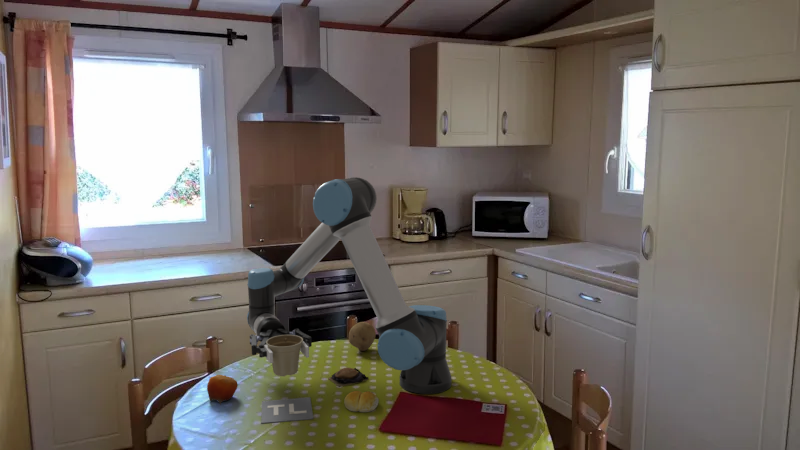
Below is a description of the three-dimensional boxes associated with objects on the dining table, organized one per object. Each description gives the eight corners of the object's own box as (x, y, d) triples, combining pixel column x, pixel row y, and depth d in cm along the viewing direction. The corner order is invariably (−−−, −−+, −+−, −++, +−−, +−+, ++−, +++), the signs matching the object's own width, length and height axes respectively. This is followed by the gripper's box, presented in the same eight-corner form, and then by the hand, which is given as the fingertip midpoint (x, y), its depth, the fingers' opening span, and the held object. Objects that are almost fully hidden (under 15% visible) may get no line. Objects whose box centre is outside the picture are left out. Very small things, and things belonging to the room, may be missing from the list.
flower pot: (300, 379, 155) (299, 346, 154) (263, 379, 156) (262, 346, 154) (306, 365, 165) (305, 334, 164) (271, 365, 165) (270, 334, 164)
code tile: (261, 423, 154) (261, 422, 154) (262, 401, 167) (262, 400, 167) (313, 419, 157) (313, 417, 157) (310, 397, 169) (310, 396, 169)
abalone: (339, 389, 177) (339, 377, 176) (326, 379, 184) (326, 367, 183) (371, 381, 182) (371, 369, 182) (358, 372, 189) (357, 360, 189)
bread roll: (349, 398, 169) (349, 384, 169) (380, 402, 167) (380, 388, 167) (339, 411, 162) (339, 397, 161) (372, 415, 159) (372, 400, 159)
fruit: (196, 400, 164) (204, 370, 167) (212, 404, 171) (220, 375, 174) (221, 405, 161) (229, 374, 164) (237, 409, 168) (245, 379, 171)
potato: (365, 357, 200) (365, 328, 199) (343, 352, 205) (342, 323, 203) (380, 349, 208) (380, 320, 207) (358, 344, 212) (358, 316, 211)
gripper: (306, 337, 180) (330, 362, 160) (231, 348, 172) (247, 376, 151) (305, 312, 179) (329, 334, 159) (230, 322, 171) (246, 346, 150)
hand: (289, 355), depth 155 cm, fingers closed on flower pot, 9 cm apart
